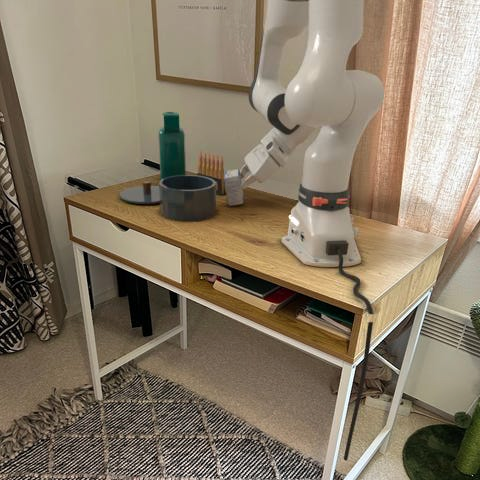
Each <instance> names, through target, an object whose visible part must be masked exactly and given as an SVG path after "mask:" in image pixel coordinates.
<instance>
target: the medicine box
mask: <svg viewBox="0 0 480 480" xmlns="http://www.w3.org/2000/svg"><path fill="white" fill-rule="evenodd" d="M224 181H225V193H226V197H227V202H228V203H227V204H228V206H230V207H233V206H238V205H239V206H240V205H243V204H244V190H243V189H244V188H243V187H242V186H241V184H240V183H241V182H242V179H241V177H240V169H230V170H227V171H225V172H224Z"/></svg>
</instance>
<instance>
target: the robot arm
mask: <svg viewBox="0 0 480 480" xmlns="http://www.w3.org/2000/svg"><path fill="white" fill-rule="evenodd" d="M364 3H365V0H267V5H266V13H265V22H264V25H263V28H262V29H263V30H262V34H261V40H260V46H259V52H258V53H259V54H258V59H257V66H256V70H255V71H256V72H255V75H254V77H253V80H252V82H251V84H250V86H249V91H248V101H249V104H250V107H251V108H252V109H253V110H254V111H255V112H257V113H258V114H259V115H260V116H261V117H262V118H263V119H264V121H266V122H267V123H268V124H269V125H270V126H272V127H273V128H272V129H270V130H269V132H268V133H267V134H265V136H263V138H261V140H259V141H260V143H259V144H258V145H256V146H255V147H254V148H253V149H251V151H249V153H247V154H246V156H244V158H243V161H244V163H245V164H243V165H242V167H241V168H240V169H239V171H240V177H241V183H240V184H241V186H242V189H244V190H245V189H247V188H248V187H249V186H250V185H253V184H254V183H256V182H257V183H259V184H262V183H264V182H266V181H267V180H268V179H270V178H271V177H272V176H273V175H274V174H275V173H276V172H277V171H279V169H280V168H284V167H285V166H286V165H287V164H288V162H289V161H288V160H289V157H290V156H291V155H292V153H294V151H295V150H296V148H297V147H298V146H299V145H301V144H302V143H304V142H305V141H306V140H307V139H308V138H309V137H310V136H311V135H312V134H313V133H314V132H315V131H316V130H317V129H318V128H320V131H319V133H318V135H317V136H316V138H315V140H314V141H312V143H311V144H310V145H309V146H308V147H307V148H306V150H305V152H304V157H303V167H302V176H301V177H302V178H301V183H300V184H299V188H298V192H297V193H298V196H297V197H298V202H297V203H296V205H294V206H293V207H292V208H291V211H290V215H289V216H288V218H289V224H288V229H287V230H288V231H287V235H284V236H282V237H281V240H280V242H281V243H282V244H283V245H284V246H285V248H287V249H288V250H289V251H290V252H291V253H292V254H293V255H294V256H295V257H296V258H297V259H298V260H299V261H300V262H301V263H303V264H304V265H307V266H311V267H318V268H319V267H320V268H321V267H322V268H338V272H339V273H340V274H341V275H342V276H343V277H345V278H347V279H350V280H353V281H355V284H354V286H353V288H352V291H353V295H354V296H355V297H356V298H358V299H360V300H361V301H362V302H363V303H364V304H365V306H366V309H367V313H368V314H369V315H373V314H374V311H373V305H372V303H371V302H370V300H369V299H368V298H367V297H366V296H365V295H363V294H361V293H360V292H359V291H358V289H359V288H360V285H361V279H360V278H359V277H358V276H356V275H353V274H349V273H347V272H345V271H344V269H343V267H351V266H356V265H359V264H361V263H362V258H361V254H360V252H359V248H358V245H357V243H356V240H355V238H358V237H359V235H360V233H359V232H360V229H359V227H356V226H355V227H353V224H354V222H355V218H354V217H351V211H350V207H349V206H350V188H349V182H350V176H351V170H352V166H353V159H354V156H355V154H356V153H355V152H356V150H357V147H358V144H359V142H360V140H361V137H362V135H363V133H364V131H365V129H366V128H367V126H368V124H369V123H370V121H371V120H372V119H373V117H375V116H376V114H378V113H379V111H380V110H381V108H382V106H383V103H384V98H385V88H384V85H383V82H382V80H381V79H380V78H379V77H378V76H377V75H375V74H373V73H370V72H368V71H364V70H361V69H347V63H348V59H349V56H350V53H351V51H352V49H353V47H354V46H355V45H356V44H357V43H358V42H359V41H360V40H361V38H362V36H363V32H364ZM306 29H308V34H307V35H308V36H307V45H306V50H305V52H304V53H305V54H304V57H303V60H302V63H301V65H300V68H299V70H298V72H297V73H296V75H295V76H294V77H293V78H292V79H291V80H290V81H289V83H288V85H287V88H286V87H285V86H284V85H283V84H282V81H281V78H280V71H281V65H282V61H283V60H282V59H283V55H284V51H285V50H284V49H285V46H286V44H287V42H288V41H289V40H290V39H293V38H296V37H298V36H300V35H302V33H304V32H305V31H306ZM249 172H250V174H249V175H248V177H246V178H245V176H246V175H247V173H249ZM244 178H245V179H244ZM373 325H374V322H373V321H368V322H367V329H366V337H365V344H364V353H363V360H362V367H361V373H360V379H359V384H358V389H357V394H356V398H355V399H356V400H355V404H354V408H353V413H352V417H351V421H350V427H349V431H348V436H347V439H346V445H345V450H344V455H343V460H344V461H348V459H349V454H350V450H351V449H350V448H351V444H352V439H353V435H354V431H355V426H356V421H357V417H358V413H359V408H360V404H361V399H362V395H363V390H364V385H365V379H366V374H367V370H368V369H367V368H368V363H369V357H370V349H371V347H370V346H371V340H372V334H373V333H372V332H373Z"/></svg>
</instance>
